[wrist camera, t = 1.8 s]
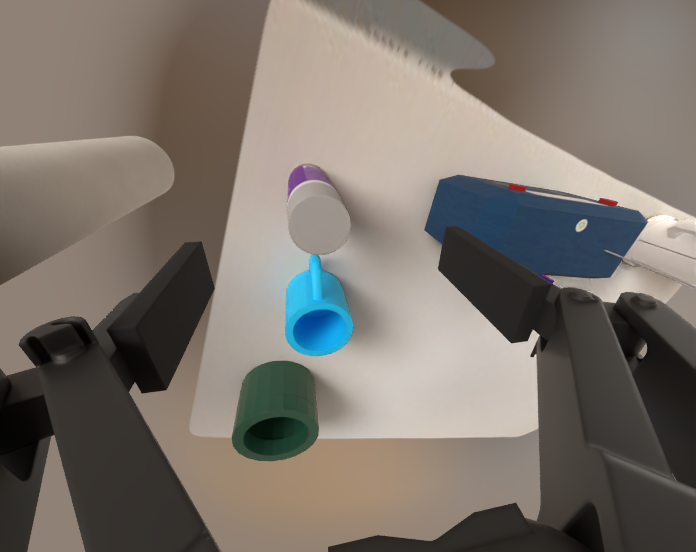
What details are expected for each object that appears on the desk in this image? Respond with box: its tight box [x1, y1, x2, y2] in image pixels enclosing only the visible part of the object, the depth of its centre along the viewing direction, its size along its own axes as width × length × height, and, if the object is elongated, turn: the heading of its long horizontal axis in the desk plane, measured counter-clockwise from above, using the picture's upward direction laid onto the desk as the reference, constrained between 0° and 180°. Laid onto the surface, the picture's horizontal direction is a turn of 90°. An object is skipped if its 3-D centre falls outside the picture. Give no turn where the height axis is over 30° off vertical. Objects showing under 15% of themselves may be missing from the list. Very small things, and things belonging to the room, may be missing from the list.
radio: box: [424, 175, 696, 288], centre depth 30 cm, size 21×9×20 cm, turn 80°
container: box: [287, 164, 351, 255], centre depth 26 cm, size 5×5×15 cm
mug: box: [285, 255, 353, 356], centre depth 35 cm, size 12×8×8 cm
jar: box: [232, 361, 319, 461], centre depth 44 cm, size 12×12×9 cm
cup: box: [623, 215, 696, 291], centre depth 41 cm, size 10×9×12 cm
